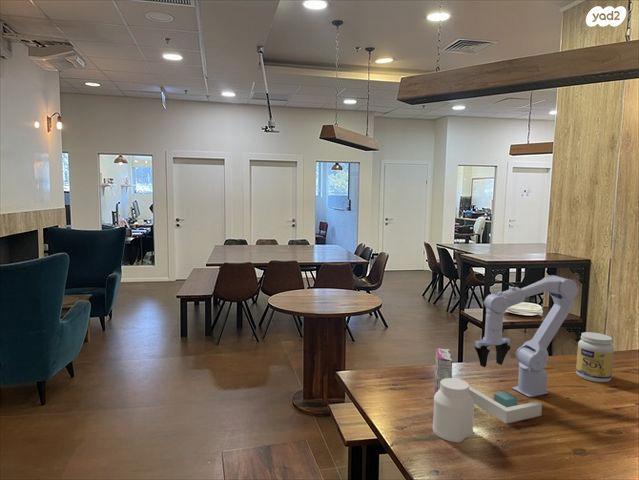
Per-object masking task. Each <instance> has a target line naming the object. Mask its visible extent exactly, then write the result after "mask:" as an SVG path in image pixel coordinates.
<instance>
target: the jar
mask: <svg viewBox="0 0 639 480" xmlns="http://www.w3.org/2000/svg"><path fill="white" fill-rule="evenodd" d="M469 386H470V384H469V383H468V382H467V381H465V380H462V379H459V378H454V377H452V378H446V379H442V380H441V381H440V389H439V390H438V391H437V392H436V394H435V393H434V396H433V420H432V431H433V433H434V435H435V436H437V437H439V438H440V439H442V440H445V441H446V442H447V441H448V442H450V443H451V442H452V443H461V442H463V440H464V439H467V438H470V437H472V436H473V435H474V430H473V429H474V428H473V426H474V411H475V404H474V400H473V399H472V397H471V396H470V394H469Z"/></svg>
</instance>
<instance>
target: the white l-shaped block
mask: <svg viewBox="0 0 639 480" xmlns="http://www.w3.org/2000/svg"><path fill="white" fill-rule="evenodd" d="M469 394H470V396H471V397H472V399H473V400H474V406H476V407H478V408H480V409H482V411H485V412H486V413H487V414H490V415H491V416H493V417H494V418H496V419H497V420H499V421H501V422H502V423H504V424H506V425H507V424H511V423H515V422H519V421H524V420H528V419H533V418H536V417H541V416H542V409H543V403H541V402H540V401H538V400H535V401H531V402H527V403H522V404H517V405H516V406H511V407H505V406H503V405H501V404H500V403H498V402H496V401H494V398H491V397H489V396H487V395H486V394H484V393H482V392H480V391H478V390H477V389H475V388H473V387H472V386H470V385H469Z"/></svg>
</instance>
